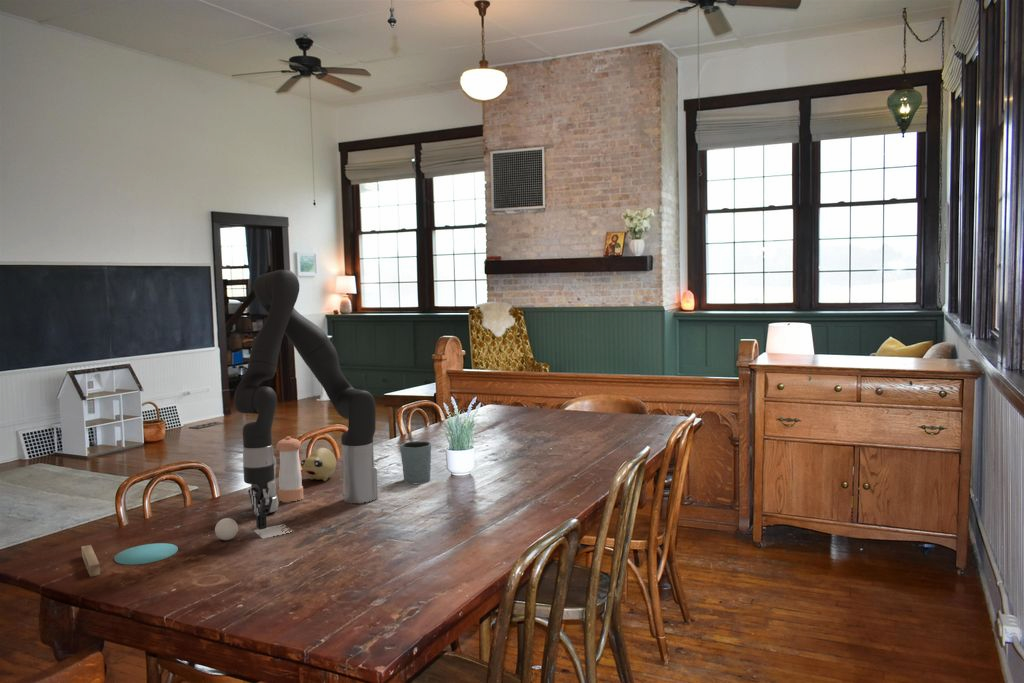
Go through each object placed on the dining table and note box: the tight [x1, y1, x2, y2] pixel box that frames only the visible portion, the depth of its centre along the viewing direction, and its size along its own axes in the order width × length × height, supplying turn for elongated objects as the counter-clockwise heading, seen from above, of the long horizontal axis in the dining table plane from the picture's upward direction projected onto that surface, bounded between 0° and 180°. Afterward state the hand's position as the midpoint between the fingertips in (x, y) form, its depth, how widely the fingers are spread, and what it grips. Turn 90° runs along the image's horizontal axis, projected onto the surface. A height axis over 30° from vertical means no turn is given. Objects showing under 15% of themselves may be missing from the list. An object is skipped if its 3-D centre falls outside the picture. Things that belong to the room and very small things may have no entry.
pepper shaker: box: [275, 435, 304, 503], centre depth 230 cm, size 7×7×19 cm
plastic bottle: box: [267, 454, 280, 514], centre depth 217 cm, size 6×7×20 cm
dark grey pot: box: [399, 440, 432, 484], centre depth 249 cm, size 10×10×12 cm
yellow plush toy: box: [300, 447, 337, 482], centre depth 252 cm, size 10×12×11 cm
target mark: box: [113, 542, 179, 566], centre depth 186 cm, size 14×14×1 cm
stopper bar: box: [81, 544, 101, 578], centre depth 179 cm, size 2×16×2 cm, turn 35°
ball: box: [214, 517, 239, 541], centre depth 195 cm, size 6×6×6 cm
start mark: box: [253, 523, 293, 540], centre depth 201 cm, size 8×8×1 cm
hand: (261, 528), depth 199 cm, fingers closed
